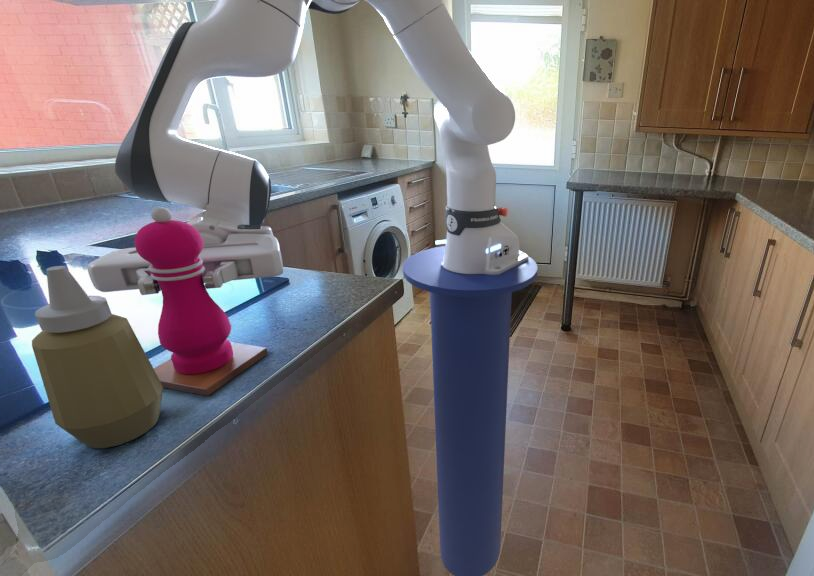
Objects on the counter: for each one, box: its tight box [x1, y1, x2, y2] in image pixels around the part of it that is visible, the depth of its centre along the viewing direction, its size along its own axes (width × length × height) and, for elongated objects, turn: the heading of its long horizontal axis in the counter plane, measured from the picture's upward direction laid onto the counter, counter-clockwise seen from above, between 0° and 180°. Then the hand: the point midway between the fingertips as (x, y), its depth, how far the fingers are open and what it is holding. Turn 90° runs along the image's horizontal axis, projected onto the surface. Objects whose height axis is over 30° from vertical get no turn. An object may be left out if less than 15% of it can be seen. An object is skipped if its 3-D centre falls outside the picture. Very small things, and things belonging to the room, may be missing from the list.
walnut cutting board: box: [153, 341, 269, 397], centre depth 53 cm, size 10×10×1 cm
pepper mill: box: [134, 206, 233, 374], centre depth 49 cm, size 7×7×20 cm
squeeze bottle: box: [31, 265, 164, 449], centre depth 39 cm, size 8×8×18 cm
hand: (180, 285), depth 48 cm, fingers closed on pepper mill, 5 cm apart
